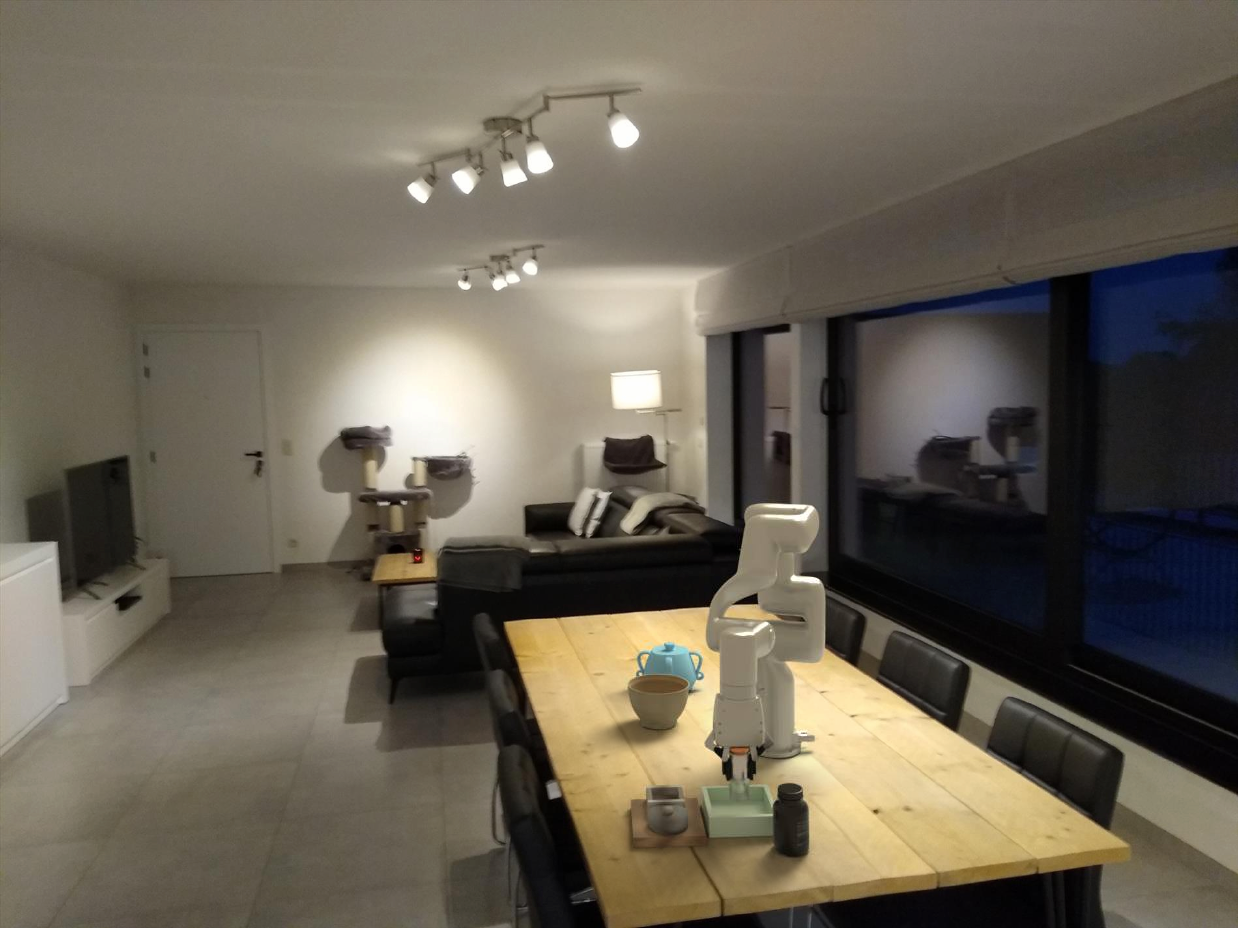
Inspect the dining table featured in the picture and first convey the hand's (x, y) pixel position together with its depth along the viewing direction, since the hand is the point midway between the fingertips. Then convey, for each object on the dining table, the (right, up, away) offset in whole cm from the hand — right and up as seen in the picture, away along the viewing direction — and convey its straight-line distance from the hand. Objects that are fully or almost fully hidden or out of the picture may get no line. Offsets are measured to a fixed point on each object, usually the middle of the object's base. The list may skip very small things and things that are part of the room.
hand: (739, 776), depth 182 cm
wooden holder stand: (-15, -10, -1) cm, 18 cm away
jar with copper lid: (0, -4, 0) cm, 4 cm away
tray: (0, -9, +1) cm, 9 cm away
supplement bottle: (+8, -10, -11) cm, 17 cm away
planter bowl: (-14, -5, +53) cm, 55 cm away
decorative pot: (-9, -2, +80) cm, 81 cm away
